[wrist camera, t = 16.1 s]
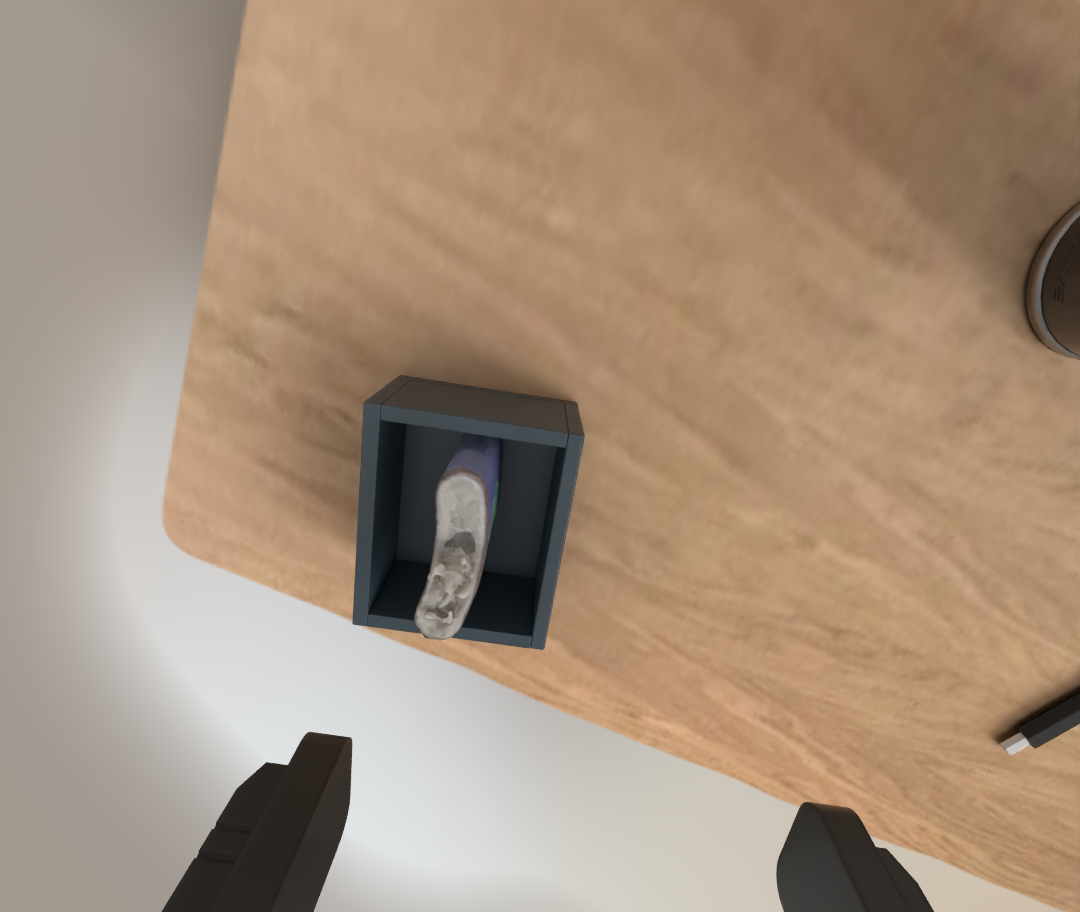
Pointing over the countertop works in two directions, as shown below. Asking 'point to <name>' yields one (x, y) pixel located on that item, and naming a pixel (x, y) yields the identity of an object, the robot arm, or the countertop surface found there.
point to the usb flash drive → (1045, 726)
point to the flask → (460, 534)
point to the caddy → (410, 517)
